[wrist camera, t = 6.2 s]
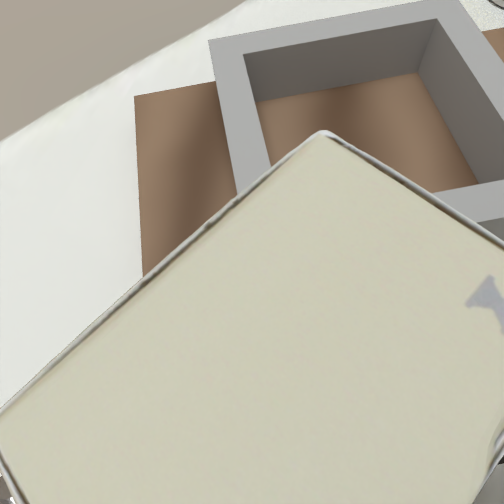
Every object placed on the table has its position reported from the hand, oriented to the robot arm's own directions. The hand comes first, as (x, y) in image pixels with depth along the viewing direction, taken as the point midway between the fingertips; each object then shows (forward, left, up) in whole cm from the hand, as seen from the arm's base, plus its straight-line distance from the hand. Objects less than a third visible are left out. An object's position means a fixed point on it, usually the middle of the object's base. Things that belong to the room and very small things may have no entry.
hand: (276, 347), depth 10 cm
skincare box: (0, +1, -6) cm, 6 cm away
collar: (-6, -10, -5) cm, 12 cm away
